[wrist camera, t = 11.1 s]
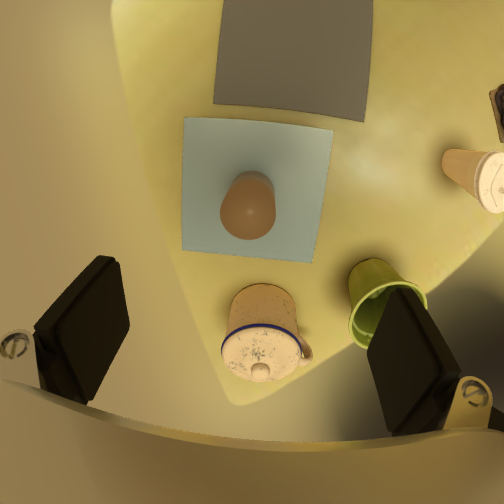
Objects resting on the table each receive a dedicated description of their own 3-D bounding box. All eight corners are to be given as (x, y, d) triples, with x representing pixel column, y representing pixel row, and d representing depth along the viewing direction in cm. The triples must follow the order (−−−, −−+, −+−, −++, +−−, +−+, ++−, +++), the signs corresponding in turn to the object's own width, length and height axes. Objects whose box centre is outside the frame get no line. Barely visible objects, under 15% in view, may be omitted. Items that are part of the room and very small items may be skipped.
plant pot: (322, 296, 38) (333, 341, 31) (355, 235, 34) (377, 271, 26) (379, 313, 39) (397, 355, 32) (412, 258, 35) (441, 295, 27)
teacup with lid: (218, 317, 41) (203, 381, 30) (251, 269, 37) (243, 331, 27) (289, 350, 43) (292, 413, 33) (327, 309, 39) (342, 373, 29)
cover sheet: (186, 117, 24) (161, 119, 18) (332, 130, 24) (351, 135, 18) (183, 247, 30) (163, 281, 24) (310, 260, 30) (320, 297, 24)
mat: (228, -23, 21) (227, -24, 21) (371, -3, 21) (373, -4, 21) (214, 103, 28) (213, 103, 28) (362, 122, 28) (363, 122, 28)
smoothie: (429, 185, 31) (499, 229, 18) (434, 134, 28) (512, 155, 15) (467, 189, 30) (537, 232, 18) (472, 142, 27) (549, 168, 15)
